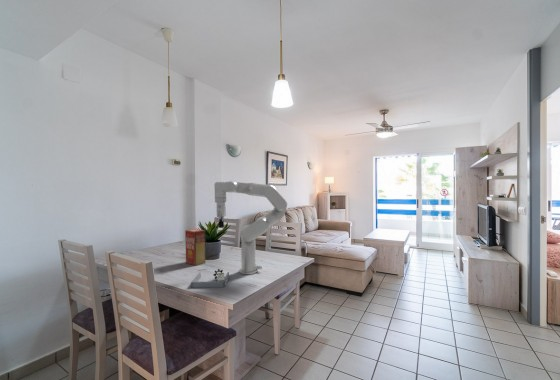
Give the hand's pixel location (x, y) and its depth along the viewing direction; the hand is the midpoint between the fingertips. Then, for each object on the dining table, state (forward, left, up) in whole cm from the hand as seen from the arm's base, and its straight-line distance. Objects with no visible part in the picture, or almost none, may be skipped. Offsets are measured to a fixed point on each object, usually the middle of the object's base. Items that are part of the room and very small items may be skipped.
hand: (221, 227), depth 175 cm
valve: (-3, +20, -31) cm, 37 cm away
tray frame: (+3, +18, -31) cm, 35 cm away
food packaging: (+24, -22, -31) cm, 45 cm away
